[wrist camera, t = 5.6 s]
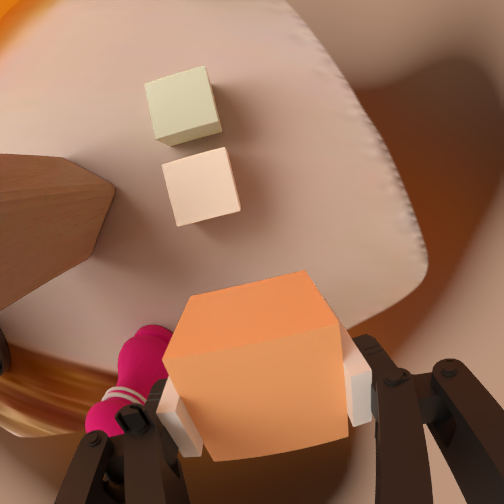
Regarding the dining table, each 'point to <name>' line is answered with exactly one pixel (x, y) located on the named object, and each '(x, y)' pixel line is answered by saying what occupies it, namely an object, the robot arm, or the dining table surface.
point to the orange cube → (260, 368)
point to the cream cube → (201, 186)
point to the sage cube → (183, 107)
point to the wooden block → (46, 220)
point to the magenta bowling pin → (132, 377)
